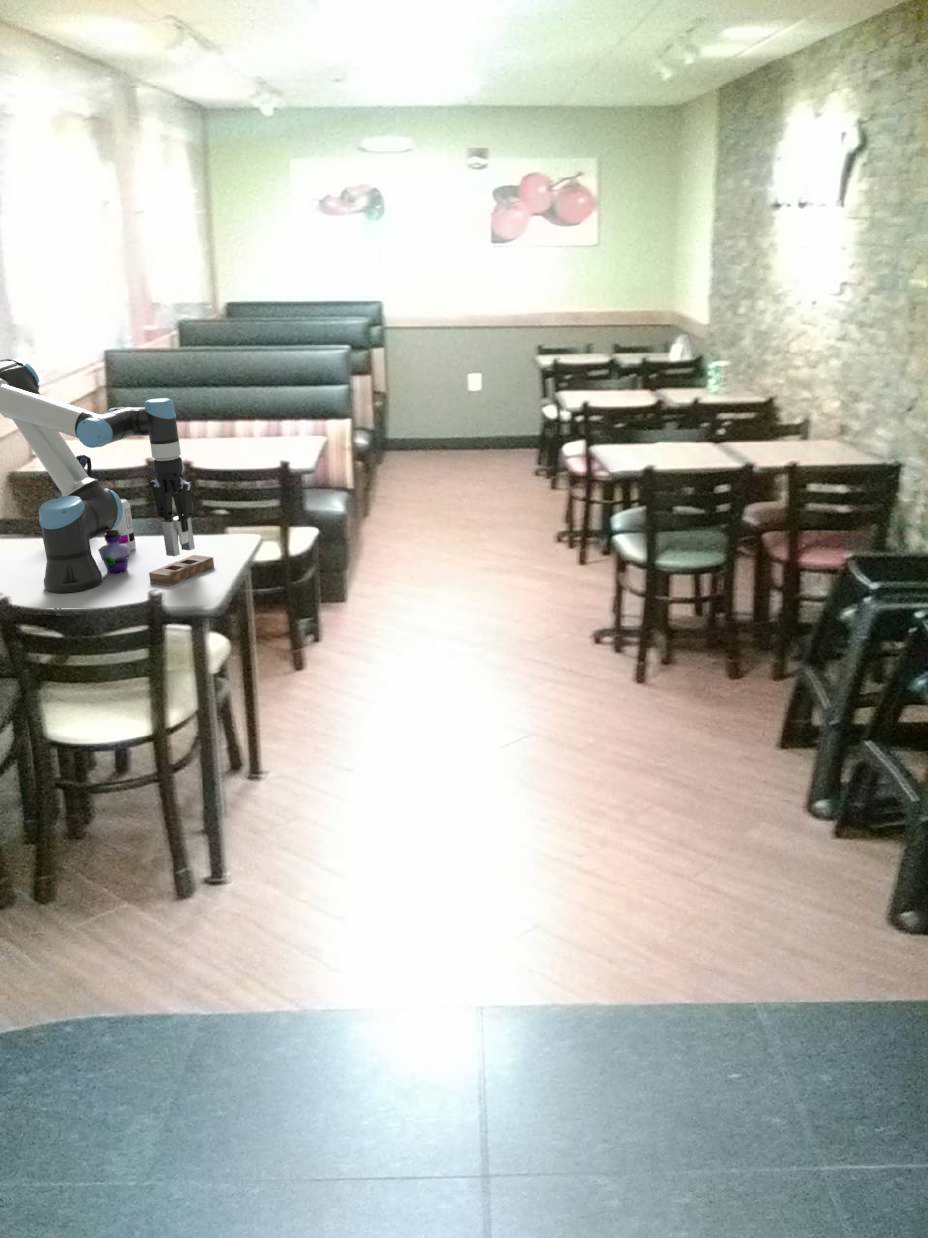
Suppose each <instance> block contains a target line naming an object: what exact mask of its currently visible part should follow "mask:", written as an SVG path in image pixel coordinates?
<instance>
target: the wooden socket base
mask: <svg viewBox="0 0 928 1238" xmlns="http://www.w3.org/2000/svg"><path fill="white" fill-rule="evenodd" d="M214 568H215V561H214V556H213V557H212V556H206V555H199V554H198V555H197V554H193V555H190V556H188V557H185V558H182V559H179V560H178V561H175V562H173V563H170V564H167V565H164V566H162V567H160V568H157V569H155V570H152V571H150V572H148V575H149V583H150V584H152V585H153V584H155V585H159V586H167V587H171V586H173V585H176V584H178V583H181V582H183V581H186V580H187V579H190V578H192V576H193V577H194V576H195V577H196V576H197V575H200V574H203V573H205V572H207V571H210V570H212V569H214ZM182 580H183V581H182ZM180 581H181V582H180ZM175 583H176V584H175ZM170 585H171V586H170Z"/></svg>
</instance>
